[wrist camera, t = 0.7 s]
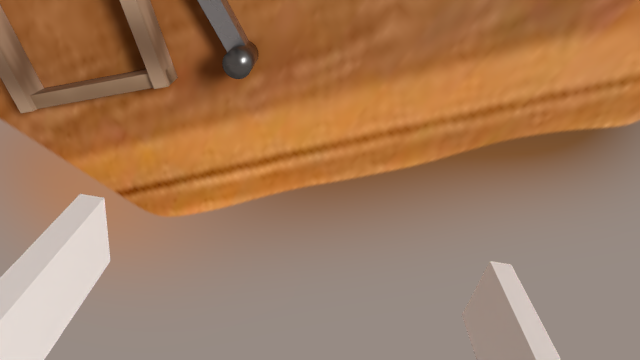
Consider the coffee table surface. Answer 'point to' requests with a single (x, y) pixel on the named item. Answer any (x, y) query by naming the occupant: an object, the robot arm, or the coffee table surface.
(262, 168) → the coffee table surface
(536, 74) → the coffee table surface
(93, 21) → the coffee table surface
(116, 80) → the bay
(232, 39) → the crank handle
